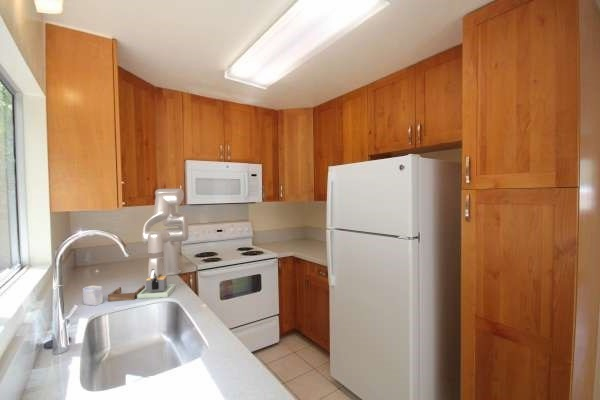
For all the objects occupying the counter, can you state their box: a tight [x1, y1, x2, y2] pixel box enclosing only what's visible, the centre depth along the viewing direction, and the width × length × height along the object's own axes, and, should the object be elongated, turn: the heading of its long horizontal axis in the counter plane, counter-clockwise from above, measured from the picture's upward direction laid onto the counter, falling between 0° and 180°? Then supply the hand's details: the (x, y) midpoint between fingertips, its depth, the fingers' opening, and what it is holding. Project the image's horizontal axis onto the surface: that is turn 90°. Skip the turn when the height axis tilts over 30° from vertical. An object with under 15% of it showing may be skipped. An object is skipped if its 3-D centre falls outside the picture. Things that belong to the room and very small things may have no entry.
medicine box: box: [82, 285, 104, 307], centre depth 139 cm, size 8×4×9 cm, turn 74°
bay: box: [107, 284, 146, 302], centre depth 149 cm, size 12×13×4 cm
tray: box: [136, 283, 176, 300], centre depth 152 cm, size 14×15×2 cm
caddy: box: [145, 275, 168, 292], centre depth 152 cm, size 5×9×7 cm, turn 99°
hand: (157, 287), depth 152 cm, fingers closed on caddy, 4 cm apart
